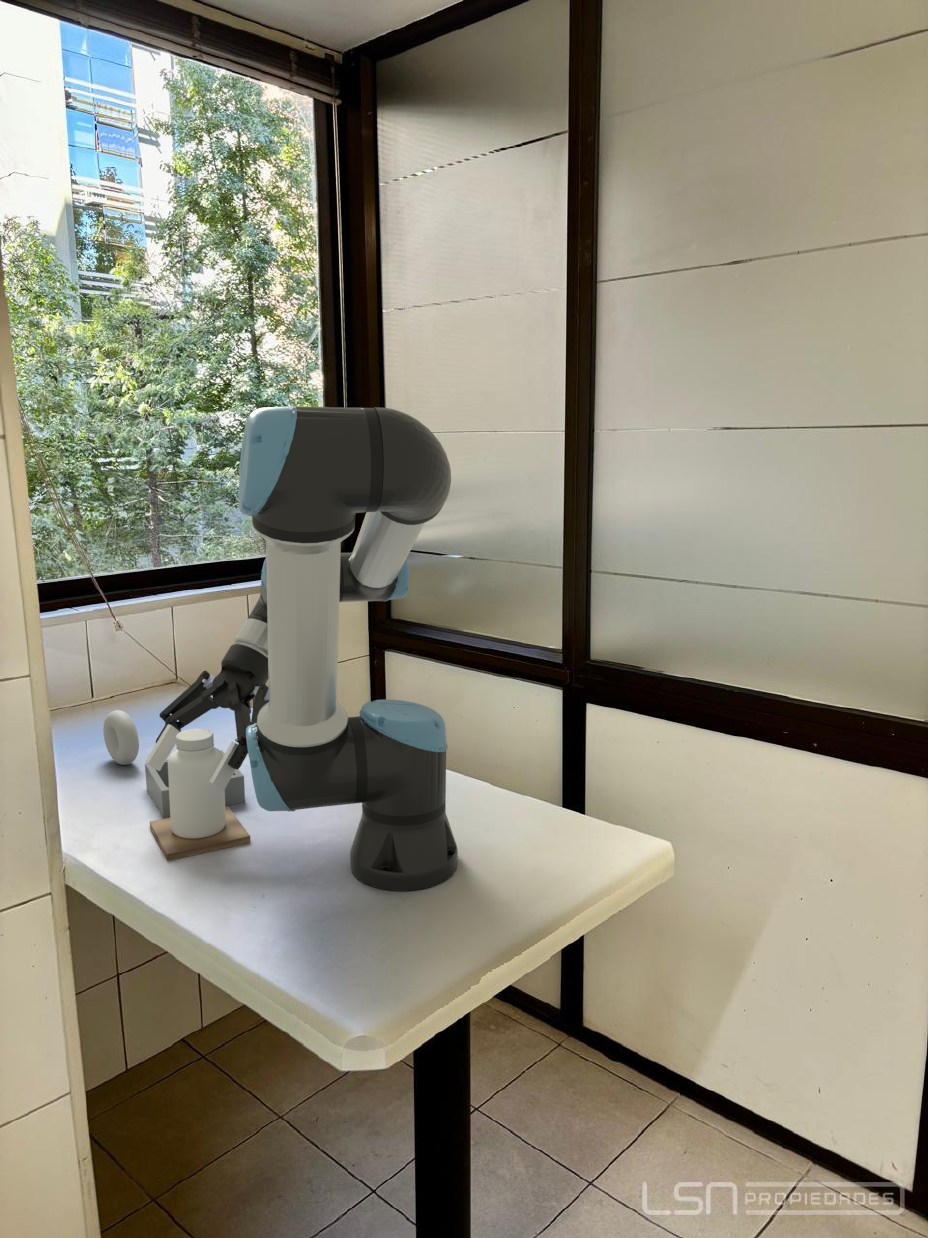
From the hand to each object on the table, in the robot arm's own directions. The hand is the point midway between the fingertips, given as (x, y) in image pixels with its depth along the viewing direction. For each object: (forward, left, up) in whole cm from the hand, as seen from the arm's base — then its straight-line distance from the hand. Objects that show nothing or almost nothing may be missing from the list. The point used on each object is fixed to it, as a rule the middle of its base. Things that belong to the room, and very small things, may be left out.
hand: (183, 776), depth 132 cm
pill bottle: (+1, -2, -9) cm, 10 cm away
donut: (+36, +3, -10) cm, 38 cm away
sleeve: (+16, -5, -10) cm, 20 cm away
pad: (+1, -2, -10) cm, 10 cm away
